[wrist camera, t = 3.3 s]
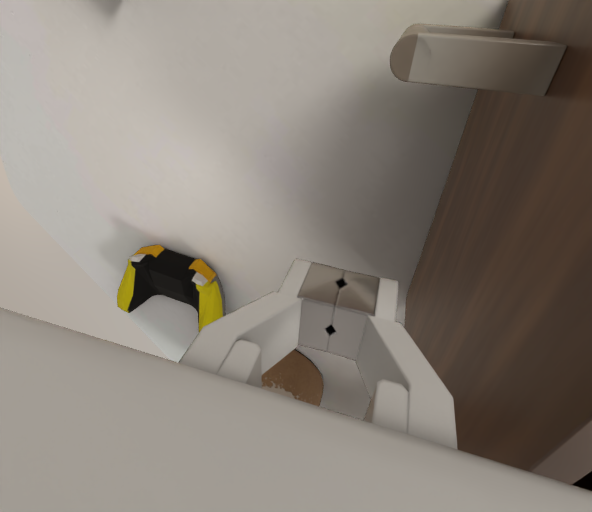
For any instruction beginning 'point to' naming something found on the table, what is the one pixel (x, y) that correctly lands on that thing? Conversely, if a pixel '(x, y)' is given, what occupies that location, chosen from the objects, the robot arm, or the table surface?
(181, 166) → the table surface
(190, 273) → the gaming controller
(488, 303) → the cupboard door
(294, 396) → the vase
